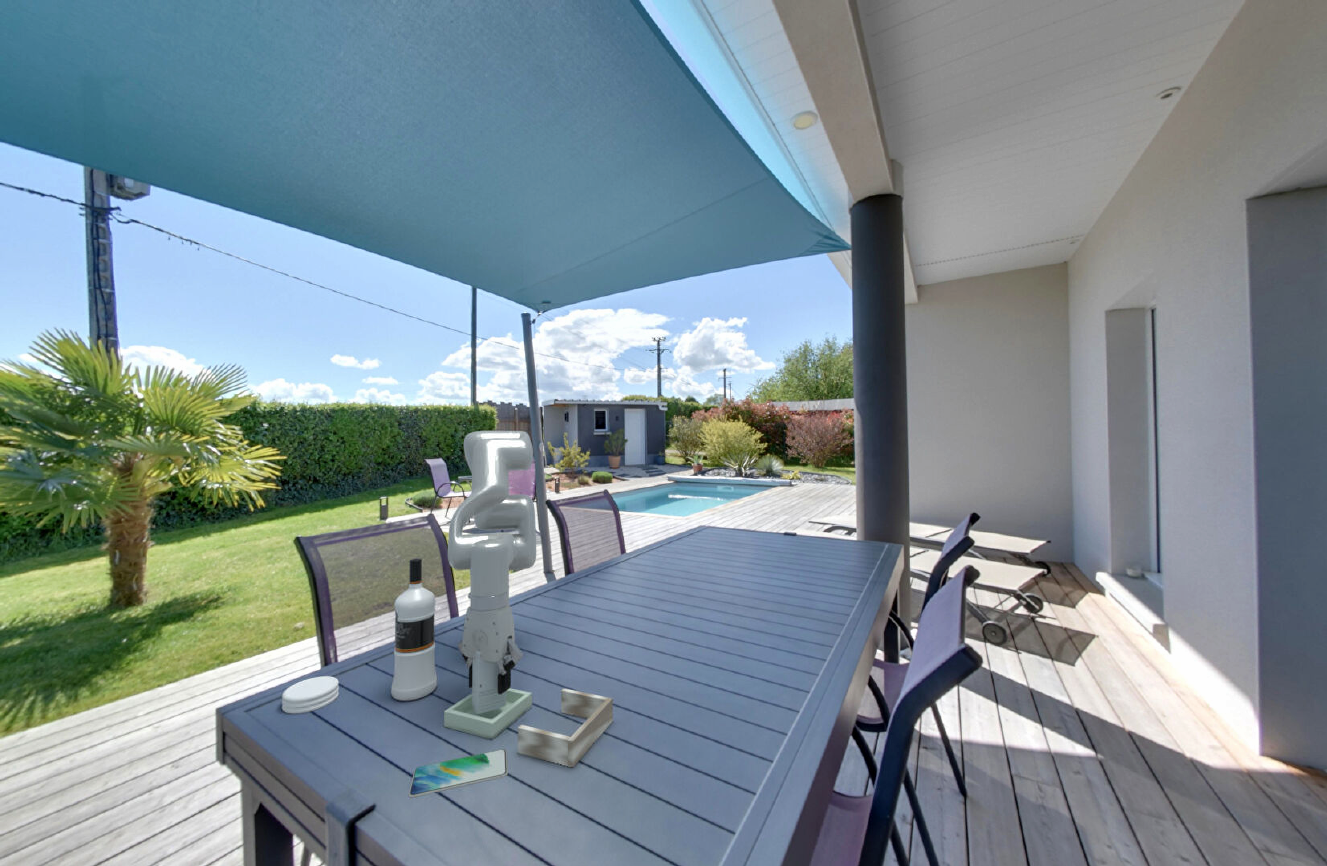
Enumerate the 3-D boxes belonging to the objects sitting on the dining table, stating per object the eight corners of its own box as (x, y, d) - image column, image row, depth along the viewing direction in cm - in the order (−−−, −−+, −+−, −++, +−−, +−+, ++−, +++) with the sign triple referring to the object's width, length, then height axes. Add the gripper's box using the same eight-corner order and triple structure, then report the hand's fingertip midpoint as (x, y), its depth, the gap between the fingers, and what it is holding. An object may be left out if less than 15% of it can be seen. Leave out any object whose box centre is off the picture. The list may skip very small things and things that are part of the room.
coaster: (349, 694, 108) (349, 679, 108) (303, 719, 99) (303, 701, 99) (317, 687, 111) (318, 672, 111) (270, 710, 102) (270, 693, 102)
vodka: (437, 697, 106) (437, 561, 107) (389, 706, 103) (390, 565, 103) (437, 678, 115) (438, 552, 116) (393, 687, 111) (394, 556, 112)
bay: (517, 752, 87) (517, 727, 87) (563, 710, 101) (563, 688, 101) (572, 768, 83) (572, 741, 83) (612, 721, 97) (612, 698, 97)
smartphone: (507, 774, 81) (407, 796, 76) (507, 779, 81) (407, 802, 76) (506, 747, 87) (414, 766, 82) (506, 752, 87) (414, 771, 82)
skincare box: (476, 715, 95) (476, 654, 95) (471, 705, 99) (471, 646, 99) (507, 706, 98) (507, 646, 99) (501, 696, 102) (501, 639, 102)
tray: (444, 726, 95) (444, 711, 95) (486, 697, 106) (486, 683, 106) (492, 739, 91) (492, 723, 91) (531, 707, 102) (531, 693, 102)
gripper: (443, 601, 99) (443, 689, 98) (512, 611, 93) (512, 705, 92) (470, 591, 106) (470, 672, 105) (535, 599, 100) (535, 686, 99)
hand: (489, 687), depth 99 cm, fingers closed on skincare box, 6 cm apart
